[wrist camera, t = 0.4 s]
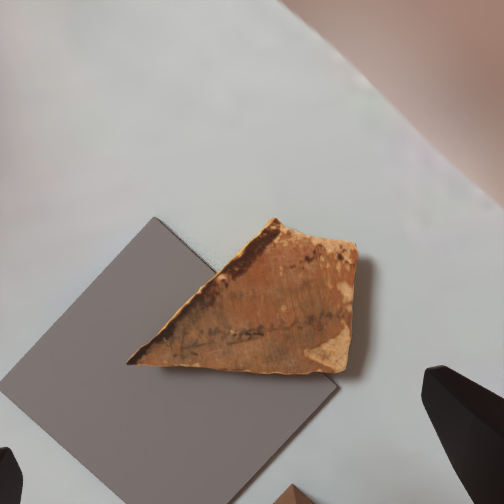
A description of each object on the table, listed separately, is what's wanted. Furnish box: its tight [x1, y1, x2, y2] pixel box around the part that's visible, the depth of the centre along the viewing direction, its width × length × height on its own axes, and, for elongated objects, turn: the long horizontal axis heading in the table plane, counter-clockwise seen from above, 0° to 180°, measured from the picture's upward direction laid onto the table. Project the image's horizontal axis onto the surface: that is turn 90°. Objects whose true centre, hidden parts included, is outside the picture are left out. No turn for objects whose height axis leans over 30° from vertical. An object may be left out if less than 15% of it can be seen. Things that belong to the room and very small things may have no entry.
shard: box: [126, 218, 358, 375], centre depth 22 cm, size 11×8×2 cm
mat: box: [0, 217, 337, 504], centre depth 23 cm, size 13×12×1 cm
